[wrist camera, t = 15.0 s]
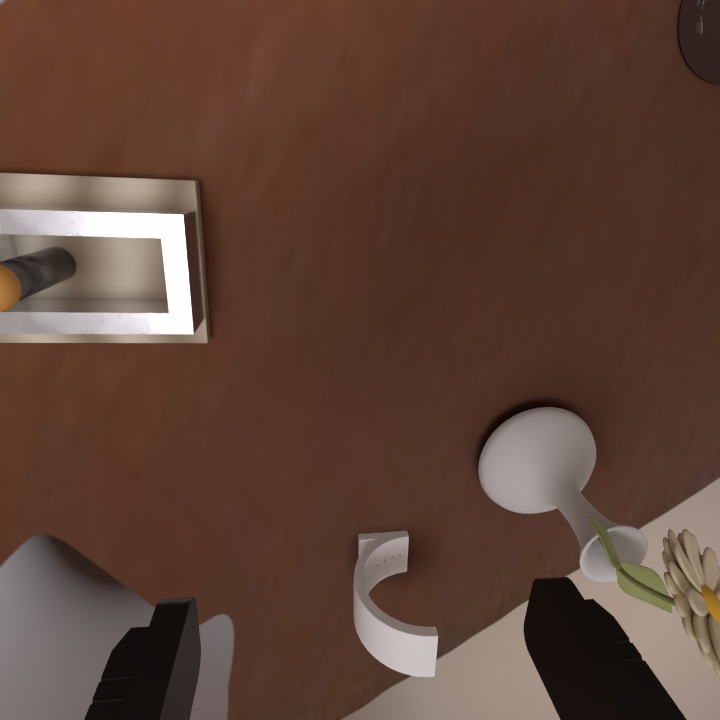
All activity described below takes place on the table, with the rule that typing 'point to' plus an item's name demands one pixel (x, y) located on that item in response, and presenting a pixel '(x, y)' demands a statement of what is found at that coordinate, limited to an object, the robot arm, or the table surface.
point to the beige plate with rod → (95, 251)
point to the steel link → (105, 313)
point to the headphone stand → (375, 628)
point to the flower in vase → (598, 519)
